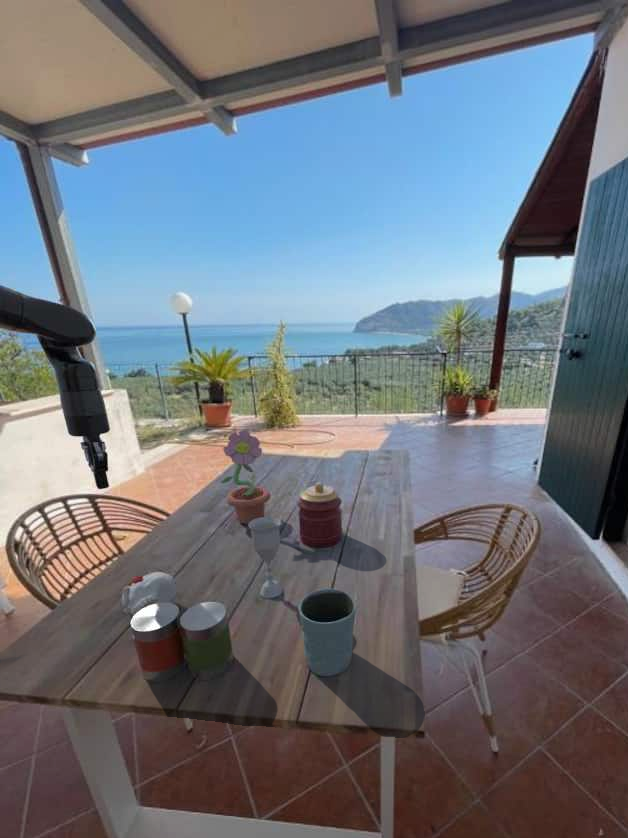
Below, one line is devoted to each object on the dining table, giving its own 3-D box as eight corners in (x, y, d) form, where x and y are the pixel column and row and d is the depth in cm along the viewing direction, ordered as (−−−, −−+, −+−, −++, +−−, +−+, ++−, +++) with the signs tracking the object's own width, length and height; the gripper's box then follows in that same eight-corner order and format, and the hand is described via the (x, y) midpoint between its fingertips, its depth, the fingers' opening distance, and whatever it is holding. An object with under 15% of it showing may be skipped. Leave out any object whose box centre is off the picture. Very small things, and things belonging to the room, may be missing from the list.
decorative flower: (226, 532, 122) (213, 439, 112) (225, 514, 134) (214, 429, 124) (274, 525, 126) (266, 435, 116) (269, 509, 139) (262, 426, 128)
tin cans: (133, 682, 68) (120, 632, 64) (154, 649, 75) (143, 602, 72) (226, 680, 68) (218, 630, 65) (238, 648, 76) (231, 600, 72)
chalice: (249, 596, 91) (241, 527, 85) (266, 580, 97) (259, 515, 91) (276, 603, 88) (269, 532, 82) (292, 586, 94) (286, 519, 88)
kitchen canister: (312, 525, 126) (309, 473, 120) (349, 531, 122) (348, 478, 116) (291, 543, 115) (287, 487, 109) (331, 551, 110) (329, 493, 105)
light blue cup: (292, 668, 71) (287, 614, 67) (319, 632, 80) (316, 582, 76) (341, 687, 67) (340, 630, 63) (364, 647, 76) (364, 595, 72)
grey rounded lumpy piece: (144, 636, 78) (112, 615, 87) (194, 606, 86) (161, 590, 95) (132, 597, 75) (100, 580, 84) (185, 570, 84) (151, 557, 93)
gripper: (58, 409, 84) (78, 484, 90) (68, 417, 75) (89, 500, 81) (98, 406, 89) (114, 477, 95) (112, 413, 80) (129, 491, 86)
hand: (103, 487), depth 88 cm, fingers closed
